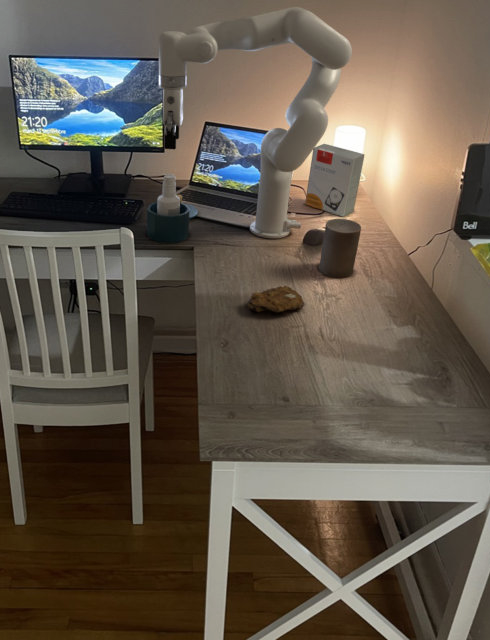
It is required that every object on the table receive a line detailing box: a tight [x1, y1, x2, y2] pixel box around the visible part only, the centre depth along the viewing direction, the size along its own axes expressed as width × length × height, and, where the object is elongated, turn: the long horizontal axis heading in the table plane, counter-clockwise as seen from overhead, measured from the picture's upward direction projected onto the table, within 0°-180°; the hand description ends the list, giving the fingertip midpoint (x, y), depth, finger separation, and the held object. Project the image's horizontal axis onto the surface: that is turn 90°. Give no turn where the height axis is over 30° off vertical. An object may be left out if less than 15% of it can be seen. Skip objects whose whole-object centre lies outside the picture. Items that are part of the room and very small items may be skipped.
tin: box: [146, 201, 190, 244], centre depth 207 cm, size 13×13×8 cm
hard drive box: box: [304, 143, 366, 218], centre depth 227 cm, size 16×8×20 cm, turn 49°
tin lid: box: [176, 194, 199, 220], centre depth 222 cm, size 14×14×6 cm
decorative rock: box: [246, 285, 305, 314], centre depth 172 cm, size 11×4×15 cm
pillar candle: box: [318, 218, 362, 278], centre depth 189 cm, size 10×10×15 cm
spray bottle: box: [156, 173, 180, 216], centre depth 204 cm, size 7×7×18 cm
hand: (171, 143), depth 195 cm, fingers open, 9 cm apart
